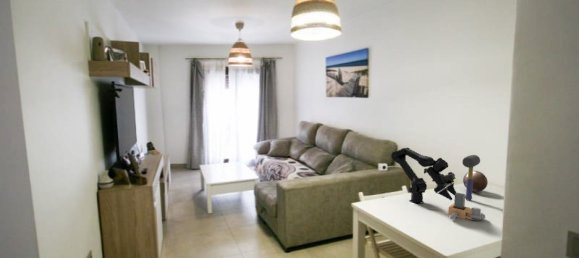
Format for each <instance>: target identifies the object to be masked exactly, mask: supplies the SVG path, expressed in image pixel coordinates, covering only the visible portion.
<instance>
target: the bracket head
mask: <svg viewBox="0 0 579 258" xmlns="http://www.w3.org/2000/svg"><path fill="white" fill-rule="evenodd" d="M447 211H448V213H447V214H448V216H449V218H450V220H452V221H454V219H456V218H460V219H462V220H463V219H464V220H466V219H467V220H468V219H469V220H472V221H475V222H476V221H477V222H478V221H479V222H480V221H481V220H485V219H486V214H484V213H482V212H481V211H482V209H481V208H479V207H474V206H473V207H468V206H465V207H464V210H461V209H457V208H454V203H452V204H451V205H449V206H448V209H447Z"/></svg>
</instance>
